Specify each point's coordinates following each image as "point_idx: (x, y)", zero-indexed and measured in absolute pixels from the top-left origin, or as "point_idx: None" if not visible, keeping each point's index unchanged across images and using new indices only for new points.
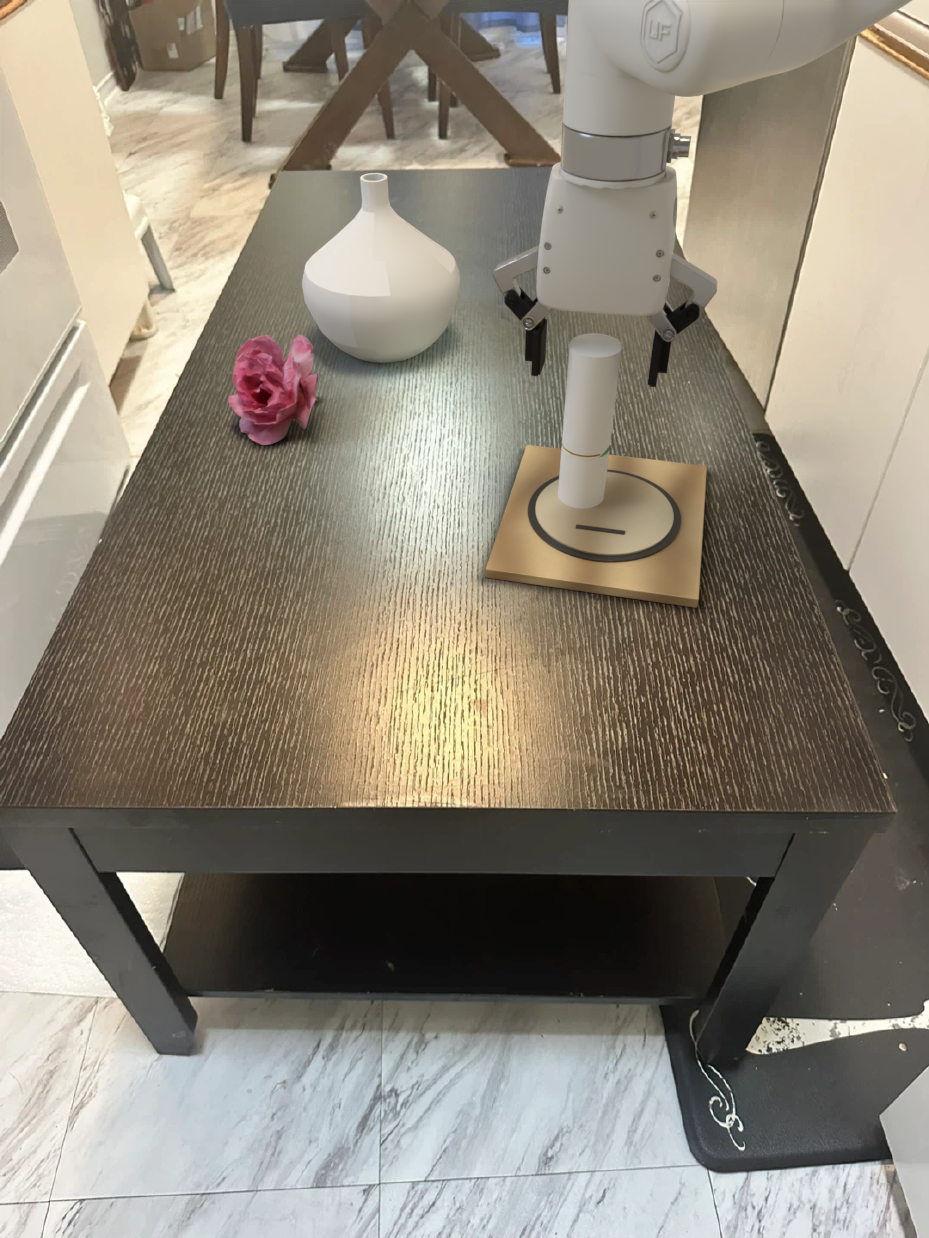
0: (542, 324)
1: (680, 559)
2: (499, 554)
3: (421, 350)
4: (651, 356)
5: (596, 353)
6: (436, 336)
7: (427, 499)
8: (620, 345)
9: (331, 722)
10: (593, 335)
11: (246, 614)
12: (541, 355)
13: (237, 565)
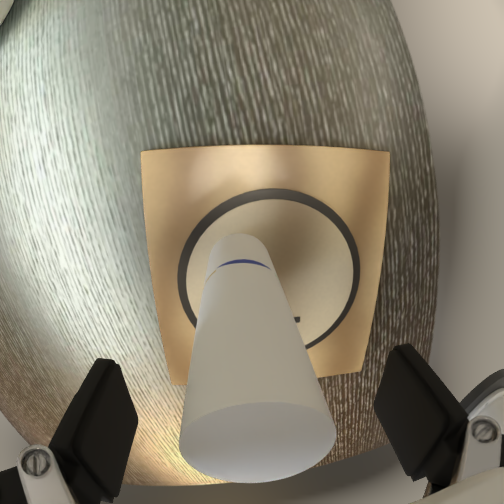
0: (91, 475)
1: (353, 333)
2: (176, 367)
3: (2, 18)
4: (397, 455)
5: (267, 474)
6: (7, 1)
7: (72, 281)
8: (332, 435)
9: (144, 465)
10: (242, 417)
11: (52, 413)
12: (125, 442)
13: (17, 376)
